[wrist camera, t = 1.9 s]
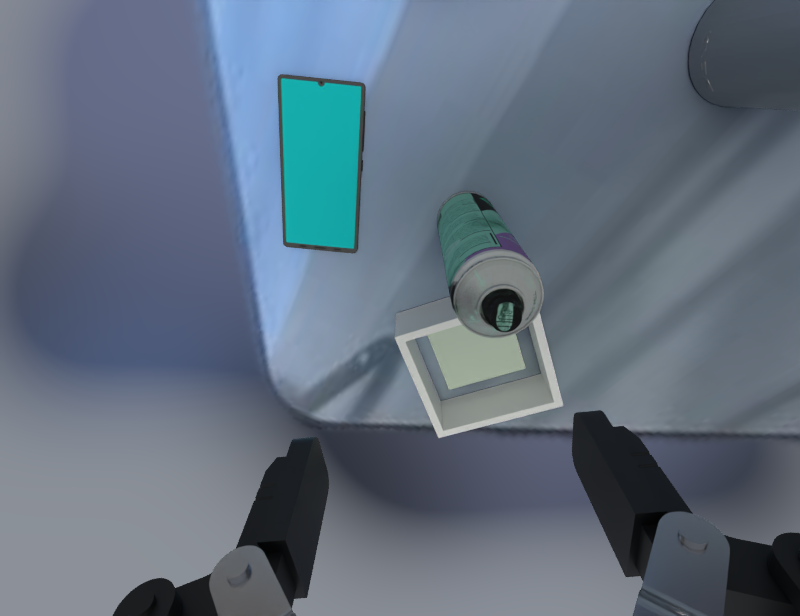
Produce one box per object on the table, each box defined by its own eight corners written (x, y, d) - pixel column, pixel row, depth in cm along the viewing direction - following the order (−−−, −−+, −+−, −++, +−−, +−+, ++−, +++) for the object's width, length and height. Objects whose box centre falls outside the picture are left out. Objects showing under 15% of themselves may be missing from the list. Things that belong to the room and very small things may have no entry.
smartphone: (283, 246, 42) (277, 73, 35) (285, 243, 43) (280, 74, 36) (357, 253, 42) (366, 83, 35) (358, 250, 43) (367, 83, 36)
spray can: (452, 256, 42) (480, 376, 24) (426, 208, 40) (437, 301, 22) (503, 230, 41) (573, 337, 23) (479, 179, 39) (536, 253, 21)
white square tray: (522, 273, 43) (534, 294, 38) (549, 377, 49) (563, 405, 44) (396, 313, 45) (394, 337, 41) (436, 407, 51) (438, 437, 47)
